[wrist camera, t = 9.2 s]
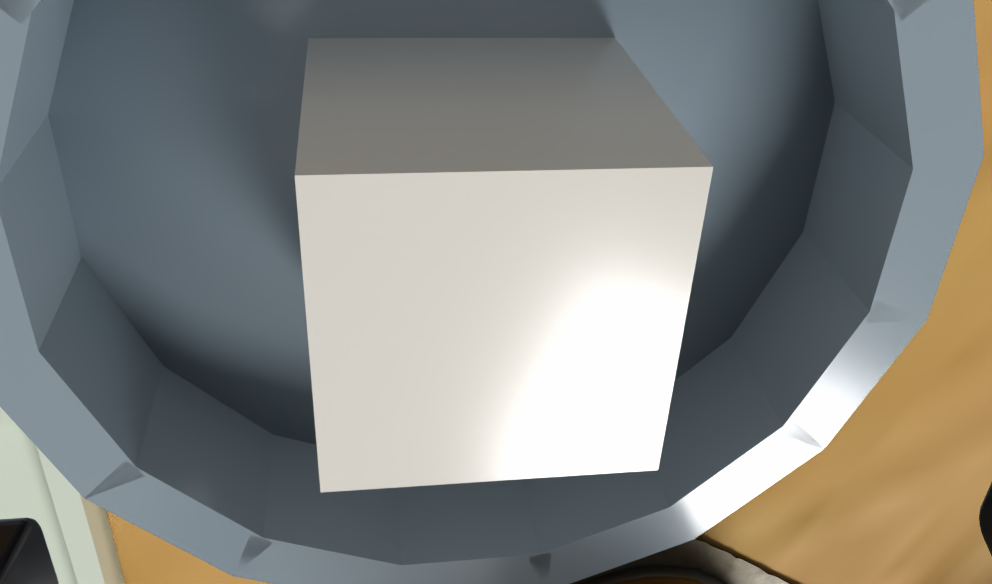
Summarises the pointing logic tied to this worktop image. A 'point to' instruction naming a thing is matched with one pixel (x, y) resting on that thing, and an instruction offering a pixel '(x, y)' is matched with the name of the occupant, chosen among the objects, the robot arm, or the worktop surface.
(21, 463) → the tray
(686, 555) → the condiment
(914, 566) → the worktop surface
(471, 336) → the white matte cube
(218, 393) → the bowl
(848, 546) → the worktop surface
